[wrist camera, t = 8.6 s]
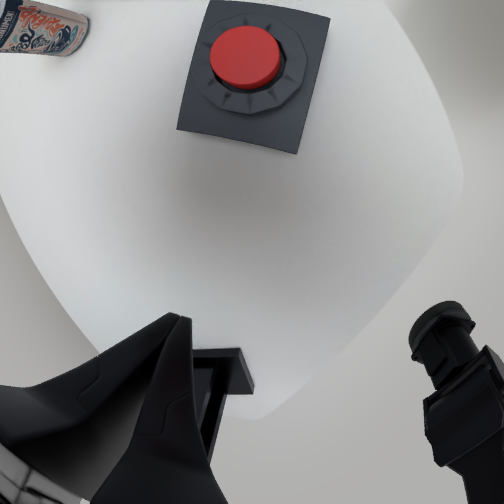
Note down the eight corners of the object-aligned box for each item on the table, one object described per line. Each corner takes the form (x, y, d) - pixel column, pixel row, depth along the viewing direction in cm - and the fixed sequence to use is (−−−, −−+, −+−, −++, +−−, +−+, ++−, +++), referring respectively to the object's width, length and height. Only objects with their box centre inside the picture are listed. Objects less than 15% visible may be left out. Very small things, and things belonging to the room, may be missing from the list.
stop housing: (219, 13, 14) (202, -11, 10) (325, 30, 14) (335, 7, 10) (189, 129, 19) (164, 130, 15) (295, 151, 18) (297, 157, 14)
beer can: (63, 66, 16) (-35, 66, 6) (53, 39, 15) (-35, 33, 4) (96, 32, 15) (-4, 11, 4) (84, 7, 13) (-4, -16, 3)
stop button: (225, 32, 12) (218, 22, 10) (286, 41, 12) (286, 31, 10) (211, 84, 13) (202, 79, 12) (272, 95, 13) (270, 90, 12)
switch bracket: (180, 386, 32) (152, 460, 21) (158, 349, 29) (117, 430, 19) (254, 386, 30) (239, 473, 19) (240, 347, 27) (216, 448, 17)
